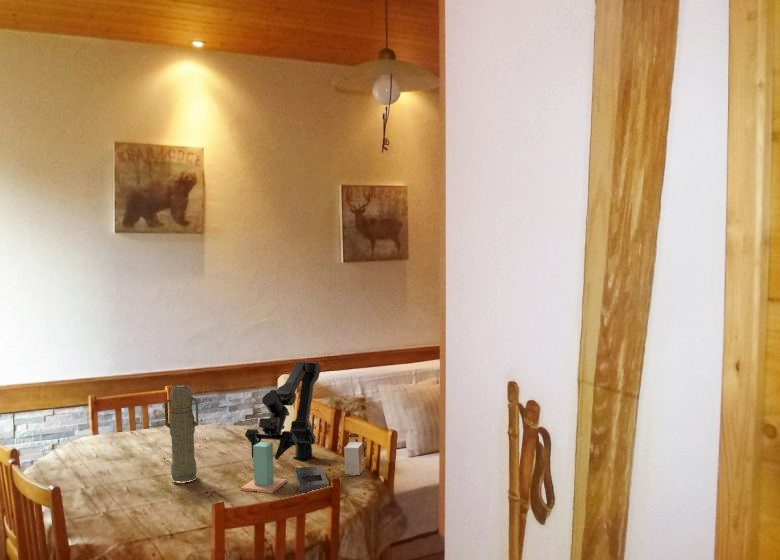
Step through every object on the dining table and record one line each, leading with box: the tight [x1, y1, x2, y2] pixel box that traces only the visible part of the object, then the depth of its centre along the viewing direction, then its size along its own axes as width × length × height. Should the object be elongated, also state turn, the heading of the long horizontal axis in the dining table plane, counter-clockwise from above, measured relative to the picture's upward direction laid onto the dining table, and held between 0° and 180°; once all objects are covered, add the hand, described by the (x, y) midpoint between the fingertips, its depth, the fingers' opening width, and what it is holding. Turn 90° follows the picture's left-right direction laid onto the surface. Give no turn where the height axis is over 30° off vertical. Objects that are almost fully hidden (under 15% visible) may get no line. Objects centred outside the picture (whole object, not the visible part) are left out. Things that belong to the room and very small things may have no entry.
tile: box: [240, 477, 288, 494], centre depth 250 cm, size 12×12×1 cm
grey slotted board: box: [294, 465, 330, 494], centre depth 253 cm, size 21×10×2 cm, turn 13°
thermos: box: [163, 384, 199, 482], centre depth 259 cm, size 9×12×35 cm
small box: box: [343, 441, 365, 476], centre depth 263 cm, size 8×6×10 cm
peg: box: [252, 441, 275, 486], centre depth 250 cm, size 5×5×14 cm
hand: (264, 458), depth 250 cm, fingers open, 9 cm apart
